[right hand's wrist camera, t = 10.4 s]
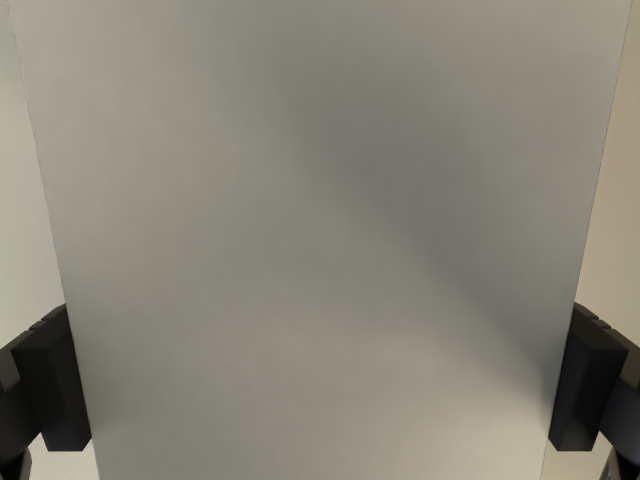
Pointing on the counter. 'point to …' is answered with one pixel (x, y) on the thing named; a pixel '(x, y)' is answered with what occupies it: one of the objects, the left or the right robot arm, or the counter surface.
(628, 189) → the counter surface
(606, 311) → the counter surface
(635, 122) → the counter surface
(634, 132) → the counter surface
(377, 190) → the cabinet
